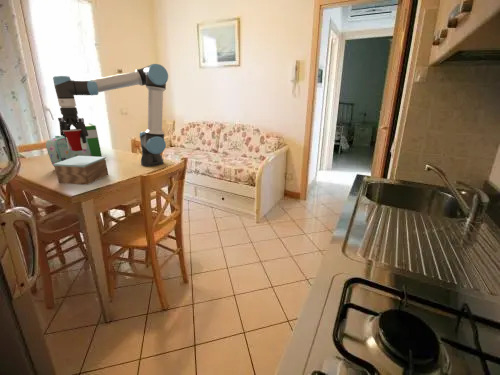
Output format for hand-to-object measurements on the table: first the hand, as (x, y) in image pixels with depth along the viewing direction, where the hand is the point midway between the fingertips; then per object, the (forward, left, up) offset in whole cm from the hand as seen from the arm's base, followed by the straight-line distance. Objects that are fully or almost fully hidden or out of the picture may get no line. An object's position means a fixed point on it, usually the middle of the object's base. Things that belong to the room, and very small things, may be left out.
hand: (77, 148), depth 147 cm
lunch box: (+29, -25, -18) cm, 42 cm away
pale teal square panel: (0, 0, -8) cm, 8 cm away
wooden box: (0, 0, -18) cm, 18 cm away
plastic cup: (0, 0, -1) cm, 1 cm away
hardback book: (+36, -54, -18) cm, 67 cm away
